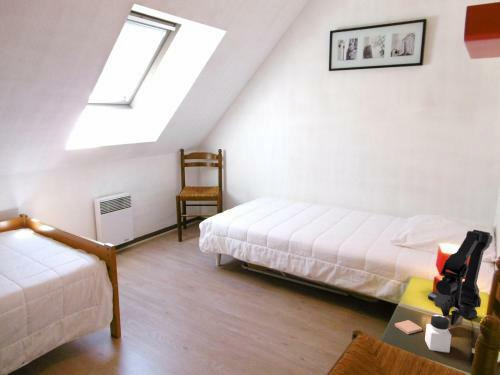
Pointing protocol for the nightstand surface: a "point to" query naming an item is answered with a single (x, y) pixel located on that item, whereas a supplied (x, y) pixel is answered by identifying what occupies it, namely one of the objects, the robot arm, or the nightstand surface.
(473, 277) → the robot arm
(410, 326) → the tile
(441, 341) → the medicine bottle
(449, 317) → the turner
